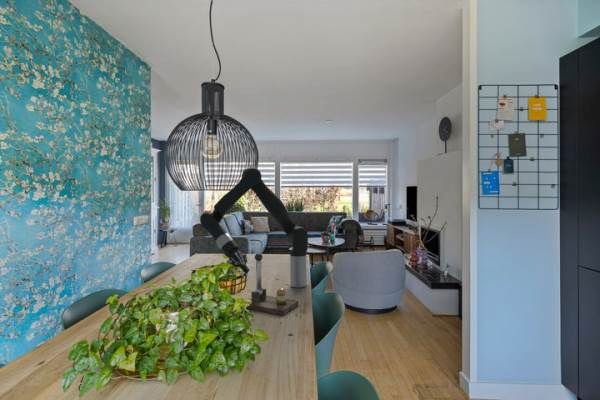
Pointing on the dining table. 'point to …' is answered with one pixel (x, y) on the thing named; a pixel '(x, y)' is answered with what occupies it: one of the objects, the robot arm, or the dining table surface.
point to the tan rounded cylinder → (281, 297)
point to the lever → (258, 273)
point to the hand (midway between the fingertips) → (247, 272)
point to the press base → (270, 304)
